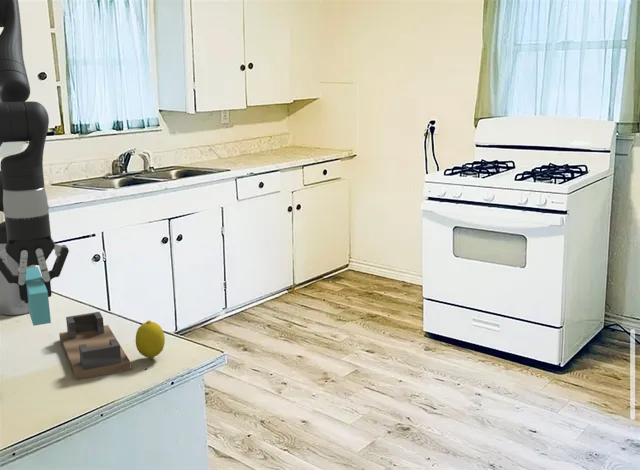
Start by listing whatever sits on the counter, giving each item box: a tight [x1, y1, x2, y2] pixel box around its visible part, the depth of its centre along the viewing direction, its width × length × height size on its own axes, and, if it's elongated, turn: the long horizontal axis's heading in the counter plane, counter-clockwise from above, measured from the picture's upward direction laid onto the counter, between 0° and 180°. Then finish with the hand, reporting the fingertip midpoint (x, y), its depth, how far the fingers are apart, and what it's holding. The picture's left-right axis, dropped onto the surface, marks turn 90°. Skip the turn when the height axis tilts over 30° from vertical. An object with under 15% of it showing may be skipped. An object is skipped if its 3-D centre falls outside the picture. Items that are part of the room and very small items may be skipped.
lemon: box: [135, 320, 166, 360], centre depth 134 cm, size 6×6×8 cm
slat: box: [26, 266, 52, 327], centre depth 130 cm, size 16×3×6 cm, turn 28°
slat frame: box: [58, 311, 132, 381], centre depth 137 cm, size 22×10×5 cm, turn 28°
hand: (36, 300), depth 130 cm, fingers closed on slat, 3 cm apart
